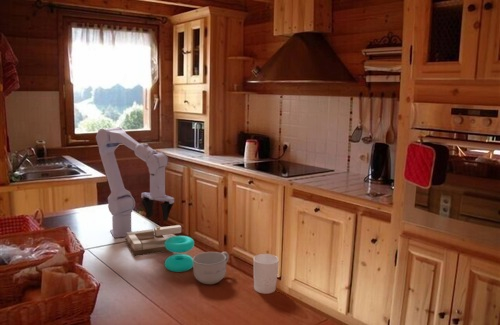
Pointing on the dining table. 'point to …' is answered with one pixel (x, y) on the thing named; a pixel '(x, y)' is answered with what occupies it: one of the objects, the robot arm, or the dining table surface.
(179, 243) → the donuts
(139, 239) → the stool seat
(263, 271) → the white cup
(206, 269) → the teacup
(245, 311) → the dining table surface
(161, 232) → the hinged leg
